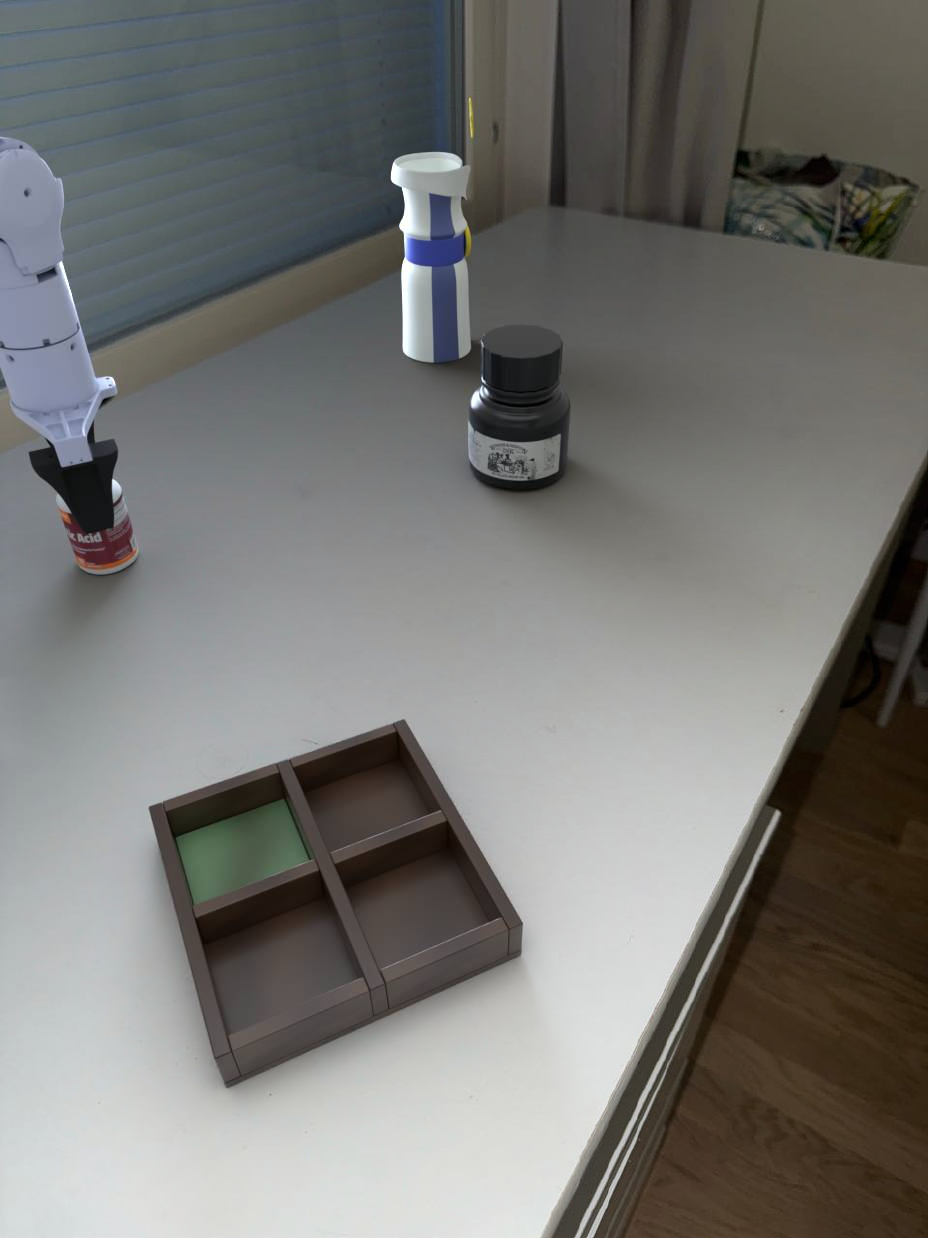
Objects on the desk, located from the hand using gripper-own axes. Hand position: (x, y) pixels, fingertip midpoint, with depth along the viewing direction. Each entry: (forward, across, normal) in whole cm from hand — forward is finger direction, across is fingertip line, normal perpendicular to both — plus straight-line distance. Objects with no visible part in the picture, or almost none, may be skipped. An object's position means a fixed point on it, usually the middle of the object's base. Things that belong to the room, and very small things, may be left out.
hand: (91, 502), depth 70 cm
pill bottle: (+6, 0, 0) cm, 6 cm away
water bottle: (+6, +25, -40) cm, 48 cm away
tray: (+5, -37, -6) cm, 38 cm away
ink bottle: (+6, -2, -36) cm, 36 cm away
